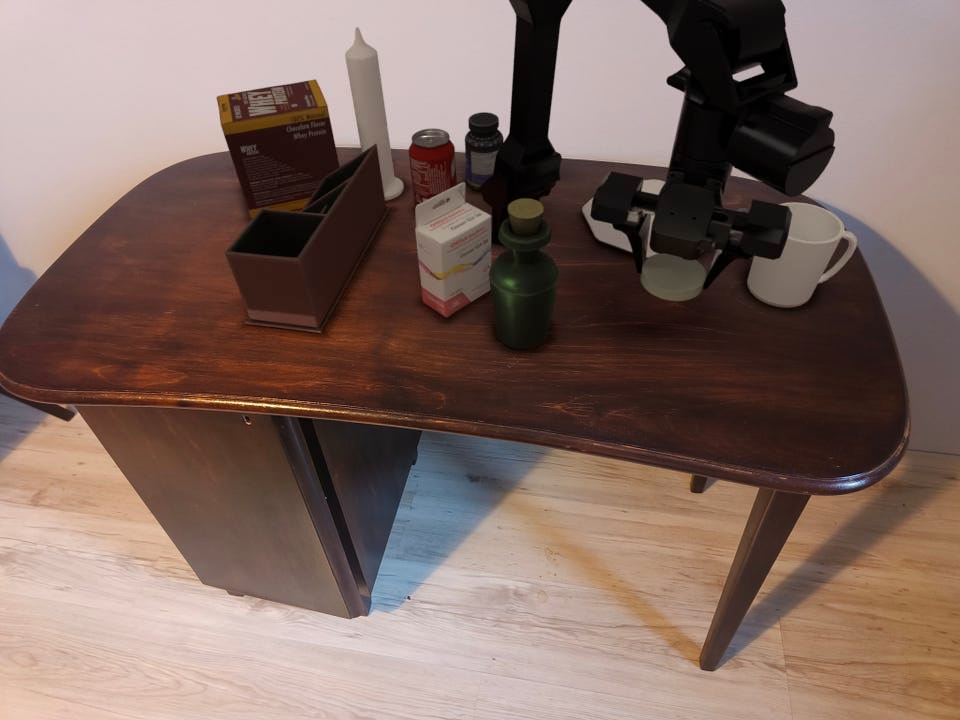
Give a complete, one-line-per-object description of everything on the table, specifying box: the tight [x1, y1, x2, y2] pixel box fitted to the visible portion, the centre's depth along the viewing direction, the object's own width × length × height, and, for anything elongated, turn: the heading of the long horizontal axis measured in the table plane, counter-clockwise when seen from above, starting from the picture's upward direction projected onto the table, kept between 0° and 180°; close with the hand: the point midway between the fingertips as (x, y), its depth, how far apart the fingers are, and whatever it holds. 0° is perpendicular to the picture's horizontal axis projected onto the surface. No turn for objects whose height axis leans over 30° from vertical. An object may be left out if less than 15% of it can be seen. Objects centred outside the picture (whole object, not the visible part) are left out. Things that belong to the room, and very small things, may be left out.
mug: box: [746, 201, 858, 309], centre depth 80 cm, size 11×9×10 cm
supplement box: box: [215, 78, 341, 219], centre depth 99 cm, size 10×15×16 cm
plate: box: [581, 179, 705, 260], centre depth 95 cm, size 20×20×2 cm
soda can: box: [408, 128, 458, 210], centre depth 96 cm, size 7×7×12 cm
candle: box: [344, 26, 405, 202], centre depth 96 cm, size 7×7×25 cm
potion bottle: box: [489, 198, 560, 351], centre depth 73 cm, size 8×8×18 cm
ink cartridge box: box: [414, 182, 492, 319], centre depth 80 cm, size 9×5×15 cm, turn 134°
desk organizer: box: [224, 144, 391, 334], centre depth 87 cm, size 10×29×11 cm, turn 168°
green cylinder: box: [639, 253, 707, 302], centre depth 70 cm, size 7×7×2 cm
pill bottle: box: [464, 111, 505, 192], centre depth 101 cm, size 6×6×11 cm
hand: (671, 279), depth 70 cm, fingers closed on green cylinder, 7 cm apart
